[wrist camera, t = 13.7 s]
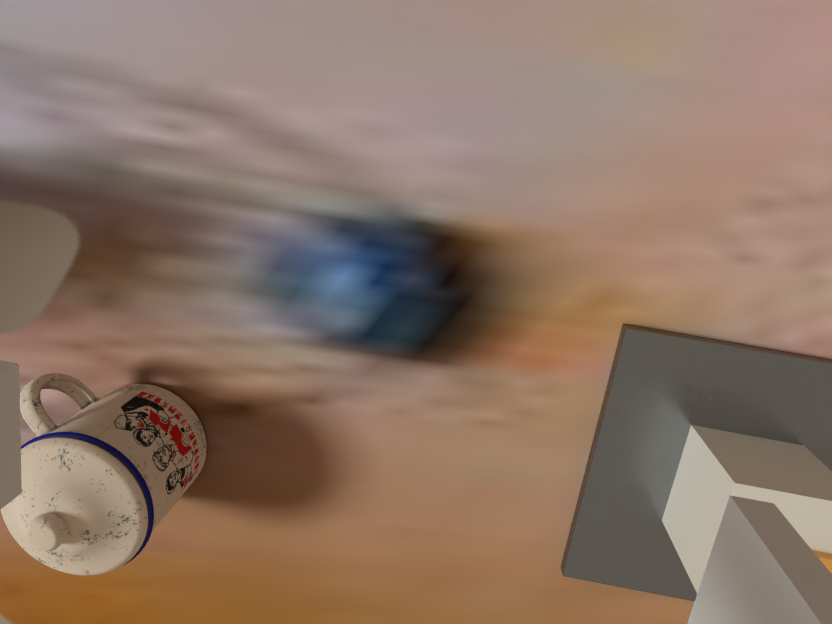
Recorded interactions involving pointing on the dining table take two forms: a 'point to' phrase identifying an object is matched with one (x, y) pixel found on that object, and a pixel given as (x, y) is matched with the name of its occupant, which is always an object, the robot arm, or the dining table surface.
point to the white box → (745, 492)
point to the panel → (680, 443)
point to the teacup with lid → (101, 473)
